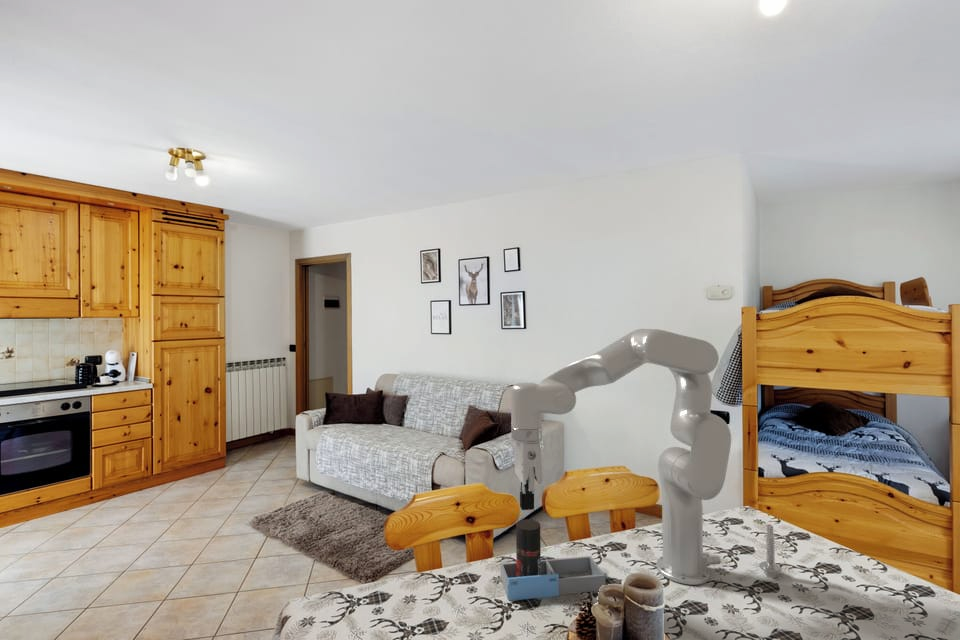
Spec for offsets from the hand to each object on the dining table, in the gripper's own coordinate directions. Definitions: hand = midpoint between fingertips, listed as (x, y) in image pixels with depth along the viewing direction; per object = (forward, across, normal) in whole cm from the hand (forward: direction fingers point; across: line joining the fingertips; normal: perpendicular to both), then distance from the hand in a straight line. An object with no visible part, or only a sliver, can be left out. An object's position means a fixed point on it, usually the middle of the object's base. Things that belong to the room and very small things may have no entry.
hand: (527, 508), depth 111 cm
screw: (+19, -5, -62) cm, 65 cm away
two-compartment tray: (+19, 0, -6) cm, 20 cm away
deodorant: (+19, 0, 0) cm, 19 cm away
